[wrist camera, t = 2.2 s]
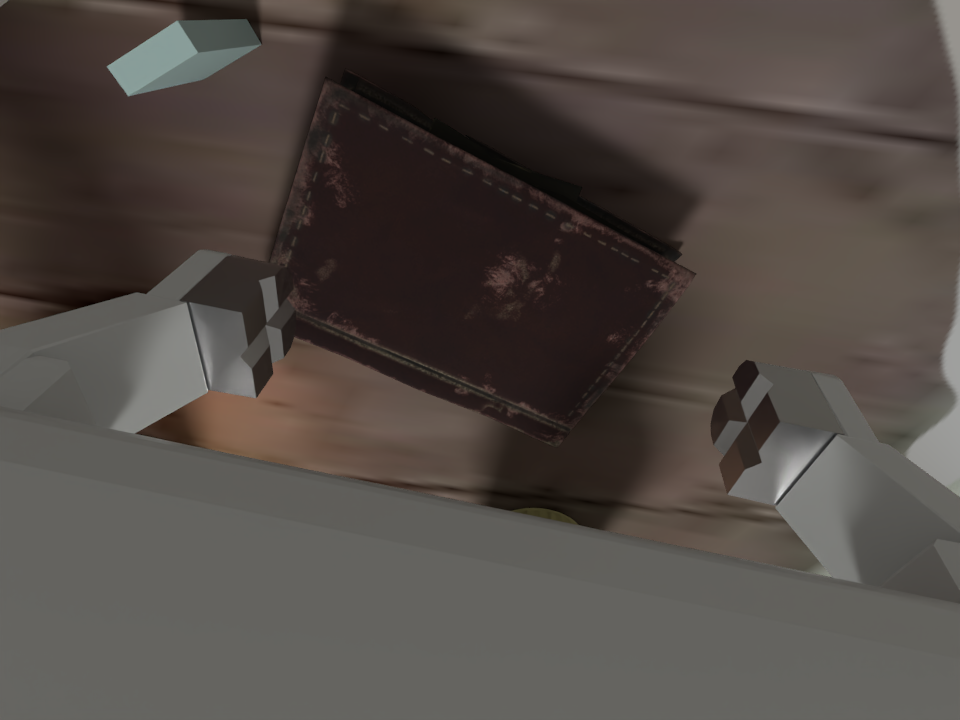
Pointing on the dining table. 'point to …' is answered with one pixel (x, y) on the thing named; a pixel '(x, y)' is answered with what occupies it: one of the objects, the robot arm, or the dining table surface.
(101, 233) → the dining table surface
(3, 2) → the domino
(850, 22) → the dining table surface
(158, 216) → the dining table surface
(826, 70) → the dining table surface
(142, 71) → the domino
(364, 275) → the diary
